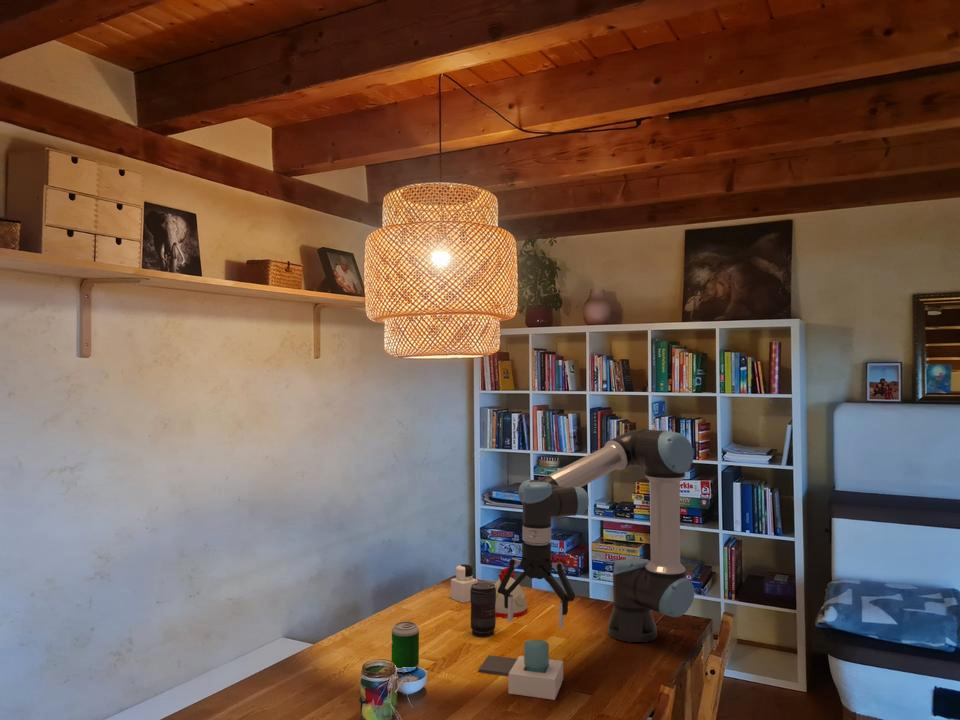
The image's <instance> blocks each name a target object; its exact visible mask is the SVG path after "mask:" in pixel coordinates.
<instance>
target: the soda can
mask: <svg viewBox="0 0 960 720" xmlns="http://www.w3.org/2000/svg"><path fill="white" fill-rule="evenodd" d="M419 656H420V628H419V626H418V625H417V624H416V623H415V622H413V621H400V622H397V623H395V624H394V626H393V627H392V628H391V663H392V662H393V663H394V664H395V665H396V667H397V668H402V667H417V668H418V667H419V666H420V665H419V664H420V657H419Z"/></svg>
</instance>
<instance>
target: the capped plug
mask: <svg viewBox="0 0 960 720" xmlns="http://www.w3.org/2000/svg"><path fill="white" fill-rule="evenodd" d="M523 646H524V647H523V656H524V664H525V665H526V666H527V671H532V672H540V673H545V672H546V667H547V666H548V665H549V658H550V656H549V655H550V653H549V650H550V644H549V642H547V641H546V640H544V639H543V640H541V639H527V640H526V641H525V642H524V643H523Z"/></svg>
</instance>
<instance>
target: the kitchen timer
mask: <svg viewBox="0 0 960 720" xmlns="http://www.w3.org/2000/svg"><path fill="white" fill-rule="evenodd" d="M508 569H509V566H507V567H504V569H501V570H500V571H501V572H500V574H498V577H499V579H498V580H496V582H495V583H493V584H494V585H495V588H496V603H495V615H496V618H498V617H502V618H501V619H508V609H507V608H505V607H504V595H503V594H501V593H500V594H499V593H498V589H499V587H500V585H501V583H502V581H503V579H504V577H505V575H506V573H507V571H508ZM514 576H515V571H513V573H512V575H511V577H510V579H509V581H508V583H507V585H506V587H505V589H508V588H509V587H510V586H511V585H512V584H513V583H514V582H515V581H516V579H514ZM511 594H512V595H513V619H515V618H514V617H517V618H520V617H519V616H521V617H523V616H522V615H524V614H525V615H526V614H527V613H528V603H527V600H526V598H527V597H526V592H524V591H523V589H522V587H521V584H520V583H519V584H518V585H517V587H516V588H515V589H514V590H513V591H512V592H511V593H510V595H511ZM526 612H527V613H526ZM525 615H524V616H525Z"/></svg>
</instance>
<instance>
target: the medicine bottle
mask: <svg viewBox="0 0 960 720" xmlns="http://www.w3.org/2000/svg"><path fill="white" fill-rule="evenodd" d="M473 572H474V571H473V566H472V565H469V564H459V565H457V566H456V567H455V577H453V578H450V599H452V600H454V601H456V602H459V603H462V604H465V603H469V602H471V601H470V589H471V585H472V584H475V583H479V581H478V579H477V578H476V579H475V578H473V576H474V575H473V574H474V573H473Z"/></svg>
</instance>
